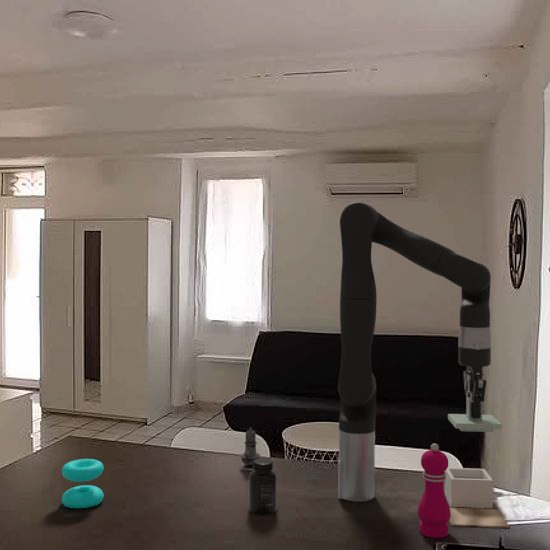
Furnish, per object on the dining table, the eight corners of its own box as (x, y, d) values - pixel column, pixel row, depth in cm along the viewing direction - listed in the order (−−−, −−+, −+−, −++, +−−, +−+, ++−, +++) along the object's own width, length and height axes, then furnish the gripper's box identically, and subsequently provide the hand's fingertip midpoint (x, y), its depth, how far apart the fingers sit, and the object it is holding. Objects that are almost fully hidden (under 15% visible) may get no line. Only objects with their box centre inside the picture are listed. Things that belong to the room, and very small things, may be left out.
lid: (455, 432, 154) (456, 402, 154) (447, 422, 163) (447, 394, 163) (501, 433, 153) (502, 403, 153) (490, 423, 163) (491, 394, 163)
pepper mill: (413, 526, 149) (414, 439, 149) (444, 525, 150) (444, 438, 149) (423, 539, 142) (424, 448, 141) (455, 538, 142) (456, 447, 142)
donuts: (52, 466, 160) (81, 455, 169) (52, 506, 160) (81, 493, 169) (84, 472, 155) (112, 460, 164) (84, 513, 156) (112, 500, 165)
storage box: (451, 507, 161) (451, 479, 161) (444, 494, 170) (445, 467, 170) (492, 508, 160) (492, 480, 160) (483, 495, 169) (484, 468, 169)
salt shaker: (257, 471, 187) (258, 430, 187) (238, 470, 188) (238, 428, 188) (262, 465, 193) (262, 425, 193) (243, 464, 194) (243, 423, 194)
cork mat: (451, 525, 150) (451, 524, 150) (443, 509, 159) (443, 507, 159) (509, 528, 148) (509, 526, 148) (498, 511, 158) (498, 509, 158)
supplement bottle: (280, 507, 160) (280, 458, 160) (271, 517, 154) (271, 466, 154) (254, 503, 163) (254, 455, 162) (244, 513, 156) (244, 463, 156)
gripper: (452, 341, 165) (452, 409, 165) (465, 348, 151) (464, 423, 151) (482, 341, 165) (482, 410, 165) (498, 349, 151) (497, 423, 151)
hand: (473, 415), depth 158 cm, fingers closed on lid, 3 cm apart
